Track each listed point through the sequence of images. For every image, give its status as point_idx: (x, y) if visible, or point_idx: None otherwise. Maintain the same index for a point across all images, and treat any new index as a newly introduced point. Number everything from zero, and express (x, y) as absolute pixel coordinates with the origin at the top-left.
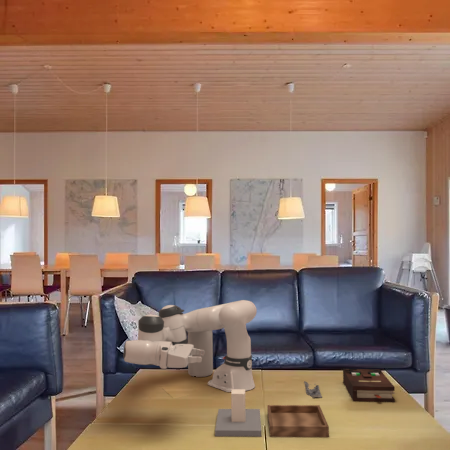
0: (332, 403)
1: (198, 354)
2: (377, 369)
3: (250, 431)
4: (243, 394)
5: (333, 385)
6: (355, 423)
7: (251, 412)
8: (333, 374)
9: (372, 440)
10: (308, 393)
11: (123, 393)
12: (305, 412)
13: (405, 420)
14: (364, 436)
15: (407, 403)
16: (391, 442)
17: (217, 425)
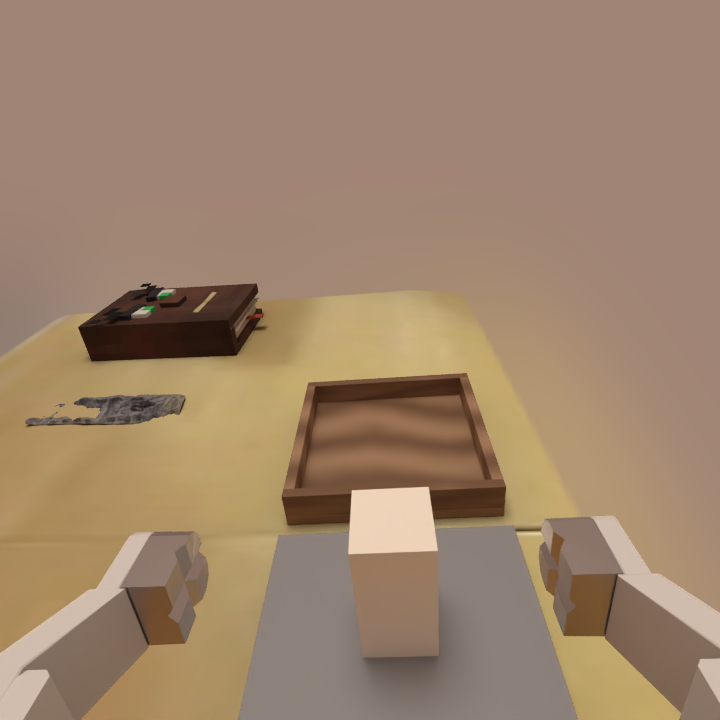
0: (236, 382)
1: (128, 664)
2: (128, 292)
3: (526, 566)
4: (429, 496)
5: (101, 375)
6: (375, 359)
7: (315, 565)
8: (12, 372)
9: (465, 346)
10: (136, 418)
11: None
12: (313, 423)
13: (358, 312)
14: (447, 353)
15: (273, 305)
16: (468, 330)
17: None
